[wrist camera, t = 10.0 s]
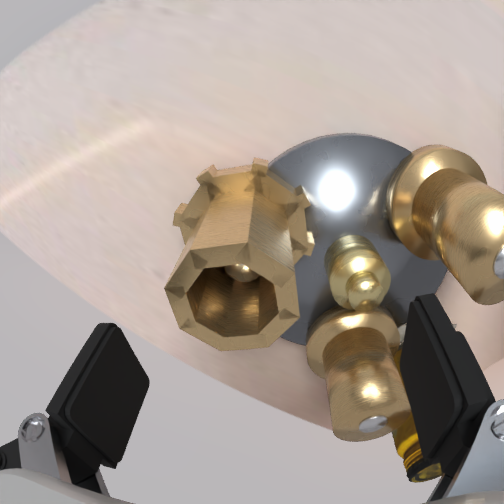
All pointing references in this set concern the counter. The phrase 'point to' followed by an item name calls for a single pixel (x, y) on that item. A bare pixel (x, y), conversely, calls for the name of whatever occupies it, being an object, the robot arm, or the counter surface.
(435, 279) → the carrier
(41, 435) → the robot arm
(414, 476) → the condiment
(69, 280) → the counter surface
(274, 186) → the gold hollow octagonal piece
